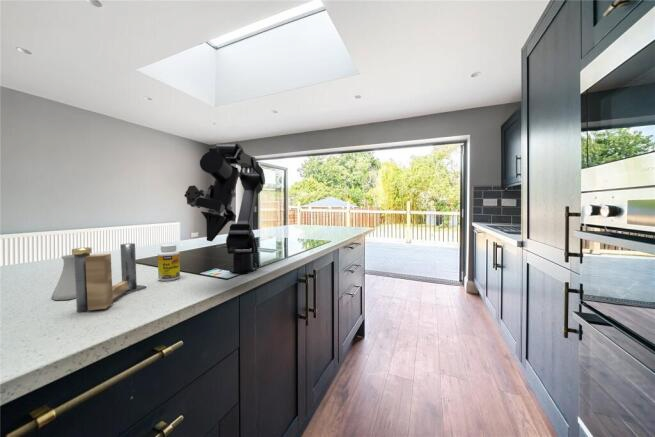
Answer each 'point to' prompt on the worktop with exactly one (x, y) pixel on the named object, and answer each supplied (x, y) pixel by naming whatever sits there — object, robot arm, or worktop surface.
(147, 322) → the worktop surface
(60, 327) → the worktop surface
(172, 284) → the worktop surface
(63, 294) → the flask
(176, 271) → the supplement bottle
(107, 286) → the tan flat l-shaped piece
